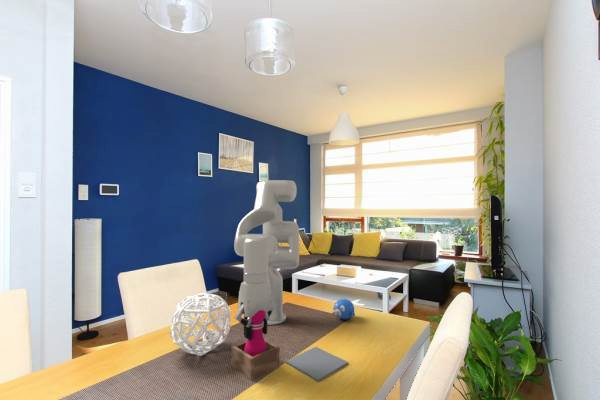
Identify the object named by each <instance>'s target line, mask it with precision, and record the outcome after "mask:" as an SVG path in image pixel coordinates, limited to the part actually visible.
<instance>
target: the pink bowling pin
mask: <svg viewBox="0 0 600 400" xmlns="http://www.w3.org/2000/svg"><path fill="white" fill-rule="evenodd" d="M265 315H266V314H265V311H264V310H260V311H258V312H256V313H255V315H254V316H253V317H251V325H250V326H251V327H252V339H251V340H248V339H247V340H246V341H247V343H246V345H245V348H244V352H245V353H247V354H248V355H250V356H252V357H253V356H255V355H257V354H260V353H262V352H265V351H267V345H266V342H265V340H264V339H265V338H264V334H263V333H262V328H263V326H264V321H263V320H264V318H265ZM247 319H248V318H247Z"/></svg>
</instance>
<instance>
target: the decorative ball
mask: <svg viewBox="0 0 600 400" xmlns="http://www.w3.org/2000/svg"><path fill="white" fill-rule="evenodd" d="M202 307H204V308H203V309H202ZM219 309H220V310H219ZM218 310H219V311H218ZM190 314H193V315H194V317H195V319H193V318H192V316H191V315H190ZM204 314H208V315H207V317H206V319H204V318H203V316H204ZM231 314H232V312H231V307H230V306H229V305H228V303H227V301H226V300H225V299H224V298H222V297H221V296H220V295H217V294H212V293H208V292H207V293H206V292H201V293H198V294H195V295H193V296H192V295H189V296H186V297H185V298H183V300H182V301H181V302H179V303H178V304H177V305H176V311H175V313H174V314H173V316H172V319H171V328H170V331H169V335H170V338H171V340H172V342H173V344H175V345H177V346H179V348H180V349H181V350H183V351H184V352H186V353H187V354H190V355H195V356H198V357H202V356H204V355H207V354H208V353H209V352H210V351H212V350H214V349H217V348H218V347H219V346H220V345H221V344H223V343H224V342H225V341H226V339H227V337H228V335H229V333H230V330H231V326H232V324H231V322H232V321H231V316H232V315H231ZM214 315H216V316H215V317H214ZM185 318H186V319H185ZM201 322H202V323H203V324H202V323H201ZM183 324H185V325H183ZM210 325H212V326H213V328H214V329H213V328H207V327H208V326H210ZM196 326H198V327H199V328H200V329H198V330H197V329H196ZM188 328H189V330H187V332H186V331H185V330H186V329H188ZM215 329H216V330H215ZM192 336H193V339H194V340H193V341H191V340H190V339H189V338H191V337H192ZM201 337H202V341H199V340H200V339H201ZM207 337H208V339H207ZM190 346H191V347H190Z"/></svg>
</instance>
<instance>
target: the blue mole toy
mask: <svg viewBox="0 0 600 400" xmlns="http://www.w3.org/2000/svg"><path fill="white" fill-rule="evenodd" d="M333 305H334V306H333V309H332V310H334V311H332V312H331V313H332V315H335V316H336V317H337V318H339V319H341V320H349V319H352V317H355V316H356V313H355V306H354V303H353V302H352V300H349V299H348V298H340V299H339V300H337V301H336V302H335V303H333Z"/></svg>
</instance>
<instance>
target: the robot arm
mask: <svg viewBox="0 0 600 400" xmlns="http://www.w3.org/2000/svg"><path fill="white" fill-rule="evenodd" d="M297 188H298V187H297V184H296V182H295V181H294V180H286V179H283V180H282V179H276V180H275V179H271V180H270V179H269V180H262V181H259V182H257V184H256V188H255V189H256V196H255V201H254V207H253V210H251V211H249V213H247V214H246V215H245V216H244V217H243V218H242V219H241V220H240V222H239V224H238V226H237V228H236V231H235V237H234V244H233V246H234V247H233V248H234V252H235V254H236V255H237V256H238V257H239V256H240V257H243V281H242V282H241V283H240V287H239V291H238V301H237V312H236V313H235V315H234V317H233V318H234V320H236V321H238V322H240V324H241V325H243V336H244V338H245V339H247V341H248V340H251V339H252V327H251V326H250V325H251V317H253V316H254V315H255V313H256V312H258V311H260V310H264V311H265V314H266V315H265V318H264V320H263V321H264V326H263V328H262V334H263V335H267V334H268V325H269V326H271V325H278V324H282V323H284V322H285V321H286V319H287V315H286V314H285V313H284V312H283V311H284V309H283V305H284V304H283V303H284V302H283V301H284V299H283V298H284V297H283V295H284V294H283V285H284V284H283V276H282V274H281V273H280V271H279V270H280V269H281V270H282V269H287V270H293V269H297V268H298V266H299V264H300V263H299V262H300V228H299V225H298V223H297V222H296V221H289V220H286V221H285V220H283V208H282V207H281V205H280V204H279V203H280V202H281V203H283V202H284V203H287V202H288V203H289V202H290V203H291V202H293V201H295V199H296V197H297V194H298V193H297V191H298V190H297ZM261 225H262V233H249V232H250V231H251V230H252V229H254V228H257V227H259V226H261ZM279 244H288V245H287V246H286V245H285V246H284V245H282V246H281V245H279ZM247 318H248V319H247Z"/></svg>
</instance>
